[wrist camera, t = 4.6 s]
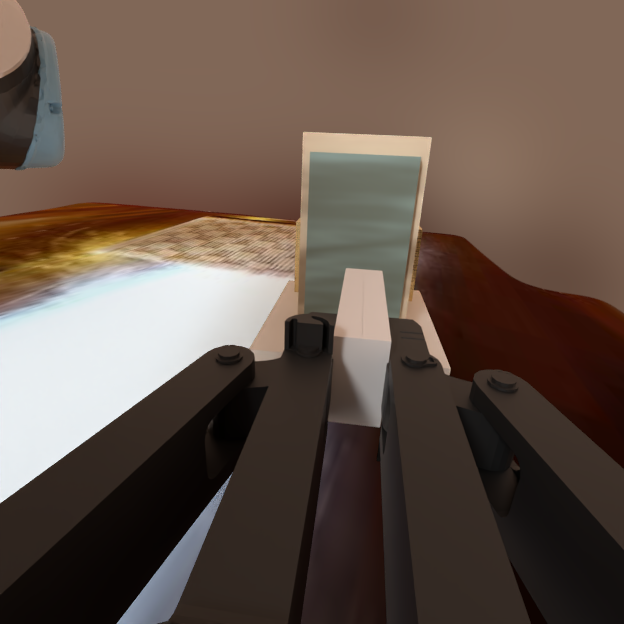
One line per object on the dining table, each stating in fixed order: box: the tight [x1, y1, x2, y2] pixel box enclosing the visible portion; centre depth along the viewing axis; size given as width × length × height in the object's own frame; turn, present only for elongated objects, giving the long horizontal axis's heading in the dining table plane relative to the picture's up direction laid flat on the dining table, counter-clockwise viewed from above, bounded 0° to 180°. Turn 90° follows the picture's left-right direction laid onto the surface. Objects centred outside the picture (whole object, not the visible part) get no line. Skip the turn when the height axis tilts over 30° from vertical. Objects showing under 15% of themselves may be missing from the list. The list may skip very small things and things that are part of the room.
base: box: [249, 281, 451, 375], centre depth 30 cm, size 14×12×2 cm
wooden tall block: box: [298, 132, 432, 319], centre depth 25 cm, size 5×7×12 cm, turn 83°
